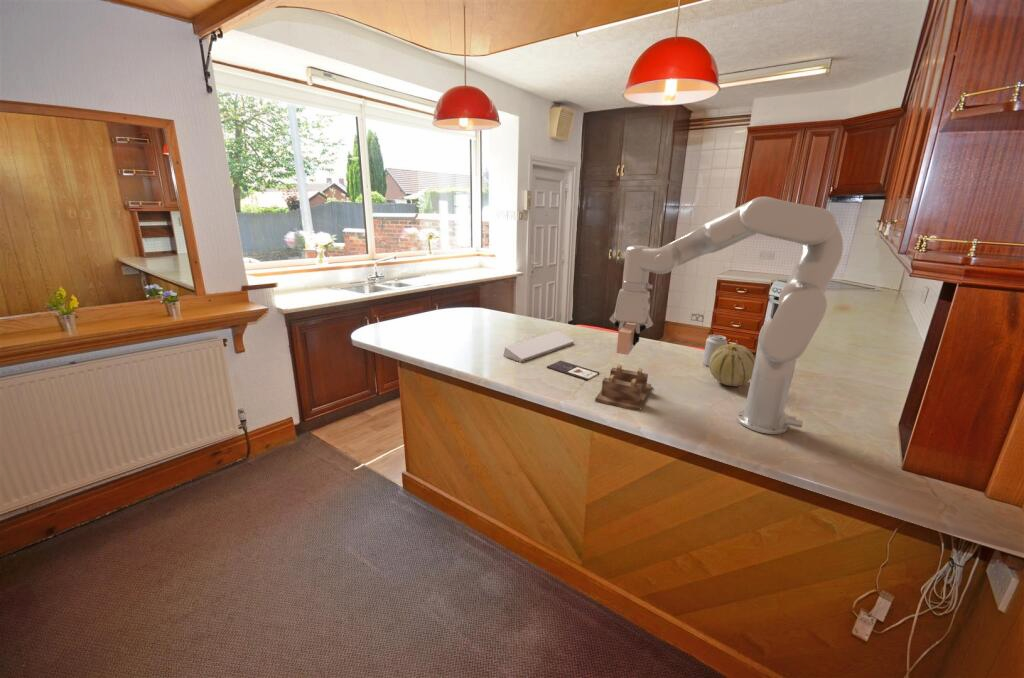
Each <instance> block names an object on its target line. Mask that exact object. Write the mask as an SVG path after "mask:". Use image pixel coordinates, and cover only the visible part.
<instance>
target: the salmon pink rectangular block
mask: <svg viewBox="0 0 1024 678" xmlns="http://www.w3.org/2000/svg"><path fill="white" fill-rule="evenodd" d="M635 331H636V324H635V323H627V322H625V325H624V326H623V327H622V328H621V329H620V330H618V333H617V343H616V344H617V345H616V354H621V355H625V356H628V355H629V354H630V353H631V352H632V350H633V349H634V347H635V346H636V345H633V340H634V333H635Z"/></svg>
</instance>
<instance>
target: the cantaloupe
mask: <svg viewBox="0 0 1024 678" xmlns="http://www.w3.org/2000/svg"><path fill="white" fill-rule="evenodd" d="M755 357H756V356H755V355H754V354H753V352H752V350H750V349H749V348H748V347H746V346H744V345H742V344H741V345H740V344H737V343H730V344H728V343H727V345H723V346H721V347H719V348H718V349H716V351H715V352H714V353H713V354H712V355H711V358H710V360H709V367H708V369H709V372H710V374H711V375H712V377H713V378H714V380H715V381H717V382H719V383H721V384H722V385H725V386H729V387H739V386H741V385H744V384H746V383H747V382H748V383H749V382H750V381H751V377H752V372H753V367H754V362H755Z"/></svg>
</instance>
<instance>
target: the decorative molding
mask: <svg viewBox="0 0 1024 678" xmlns="http://www.w3.org/2000/svg"><path fill="white" fill-rule="evenodd" d="M574 343H575V340H574V339H572V338H571V337H569V336H568V335H566V334H564V333H563V332H561V330H560V331H559V330H556V331H553V332H549V333H546V334H543V335H540V336H537V337H536V336H535V337H533V338H531V339H527V340H524V341H520V342H517V343H513V344H511V345H507V346H505V347H504V349H503V357H504V358H507V357H508V359H511V360H513V361H515V360H516V362H518V361H519V362H518V363H522V361H523V362H526V361H528V360H531V359H534V358H537V357H539V356H540V357H541V356H542V355H545V354H548V353H550V352H553V351H556V350H559V349H562V348H565V347H568V346H570V345H574ZM525 360H526V361H525Z"/></svg>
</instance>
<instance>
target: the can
mask: <svg viewBox="0 0 1024 678" xmlns="http://www.w3.org/2000/svg"><path fill="white" fill-rule="evenodd" d="M727 344H728V340H727V337H726V336H724V335H721V334H710V335H708V338H706V340H705V347H704V351H703V358H702V363H703V364H704V366H707V367H708V368H709V360H710V358H711V355H712V354H713V353H714V352H715V351H716V349H718V348H719V347H721V346H723V345H727Z"/></svg>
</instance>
